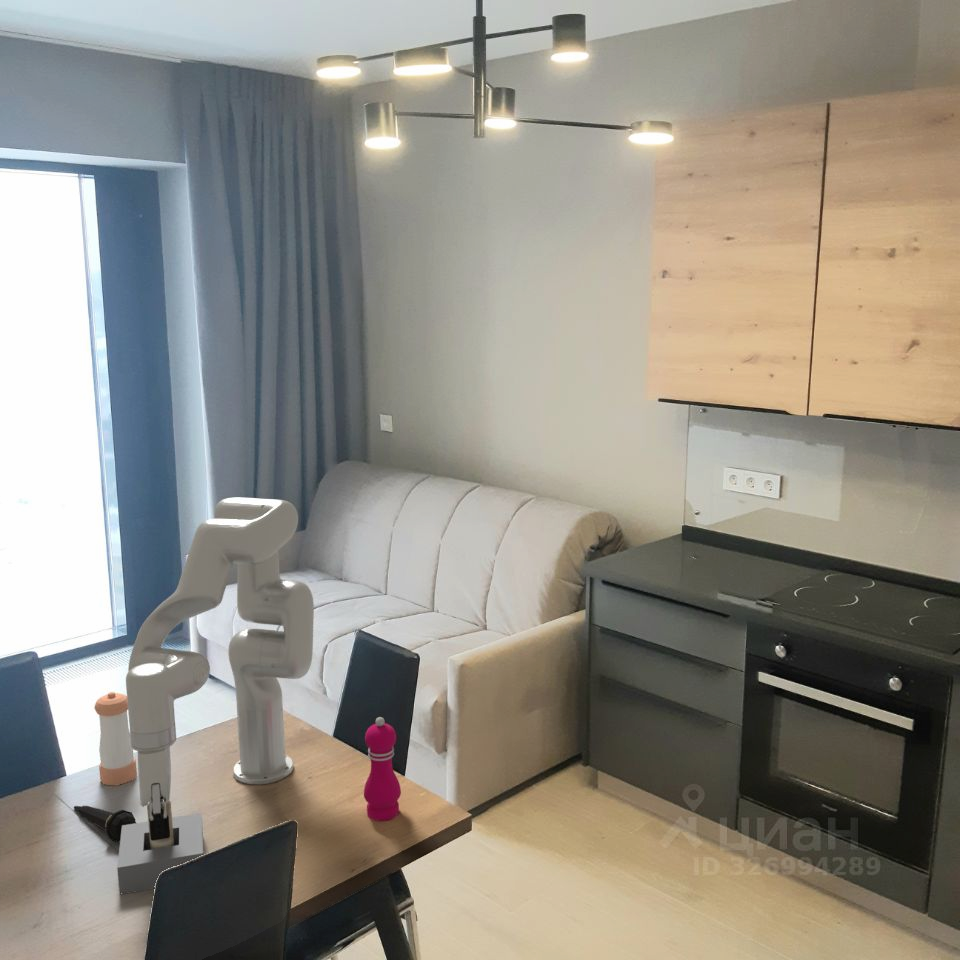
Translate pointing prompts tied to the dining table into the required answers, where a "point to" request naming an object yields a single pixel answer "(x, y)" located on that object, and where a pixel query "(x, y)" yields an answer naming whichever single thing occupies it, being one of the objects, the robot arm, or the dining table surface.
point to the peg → (170, 840)
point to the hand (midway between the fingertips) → (160, 829)
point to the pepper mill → (381, 773)
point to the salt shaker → (115, 740)
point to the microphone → (107, 820)
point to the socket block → (156, 852)
